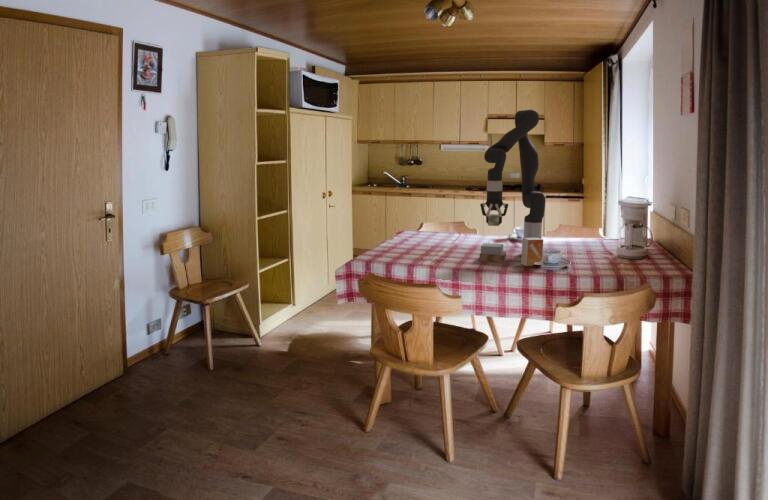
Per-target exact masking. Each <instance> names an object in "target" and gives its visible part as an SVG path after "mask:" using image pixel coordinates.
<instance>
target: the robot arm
mask: <svg viewBox="0 0 768 500" xmlns="http://www.w3.org/2000/svg"><path fill="white" fill-rule="evenodd" d="M539 121H540V116H539V112H538V111H537V110H535V109H525V110H524V109H523V110H518V111H516V112H515V115H514V128H512V129H510V130H508V132H506V133H505V134H504V135H503V136H502V137H501V138H500V139H499V140H498V141H497V142H495V143H494V144H492V145H491V146H490V147H488V148H487V149H486V150H485V152H484V157H483V158H484V160H485V162H486V163H488V164H495V165H494V167H493V168H492V167H491V168H488V170H487V182H486V183H487V184H486V200H485V202H482V203H480V204H479V205H480V206H479V207H480V210H481V214H482V216H485V223H486V224H487V225H488V216H489V214H491V212H493V211H496V212H497V213H498V214H499V226H500V225H501V224H502V223H503V217H505V216H506V215H507V213H508V208H509V203H505V202H504V201H503V171H504V167H505V165H506V164H505V163H506V160H507V153H509V151H510V150H511V149H512V148H513V147H514V146H515V145H516V144H517V143H518V152H519V163H520V173H521V201H522V205H523V206H524V207H525V208H527V209H529V212H528V214H527V215H525V216H524V219H523V224H524V225H523V237H522V239H523V238H540V239H543V238H542V231H543V229H542V227H543V218H544V217H545V211H546V210H545V209H546V197H545V194H544V193H543V192H540V191H536V188H535V179H536V177H537V173H538V170H539V165H540V162H539V154H538V151H537V149H536V147H535V146H534V144H533V143H532V142H531V139H530V138H529V135H528V133H529V132H530V131H531V130H533V129H534V128H536V127H537V125H538V123H539ZM502 206H503V208H504V210H503V213H502V210H501V208H502ZM486 207H487V208H488V210H487V211H486V210H485V208H486Z"/></svg>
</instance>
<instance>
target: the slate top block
mask: <svg viewBox="0 0 768 500" xmlns="http://www.w3.org/2000/svg"><path fill="white" fill-rule="evenodd" d="M503 251H504V243H489V242H488V243H487V242H486V243H485V242H484V243H482V244H481V245H480V253H481V254H490V255H501V254H502V253H503Z"/></svg>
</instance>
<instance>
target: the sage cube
mask: <svg viewBox="0 0 768 500" xmlns="http://www.w3.org/2000/svg"><path fill="white" fill-rule="evenodd" d="M487 226H491V227H492V226H493V227H499V226H500V225H499V214H495V213H493V214H491V213H490V214H489V216H488V224H487Z"/></svg>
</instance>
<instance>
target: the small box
mask: <svg viewBox="0 0 768 500" xmlns="http://www.w3.org/2000/svg"><path fill="white" fill-rule="evenodd" d="M521 241H522V243H521V259H520V260H521V263H520V264H521V265H522V266H525V267H534V266H533V265H534V263H535V262H540V261H541V260H542V261H543V252H544V251H543V250H544V239H543V238H541V239H540V238H523V237H522V240H521Z"/></svg>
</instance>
